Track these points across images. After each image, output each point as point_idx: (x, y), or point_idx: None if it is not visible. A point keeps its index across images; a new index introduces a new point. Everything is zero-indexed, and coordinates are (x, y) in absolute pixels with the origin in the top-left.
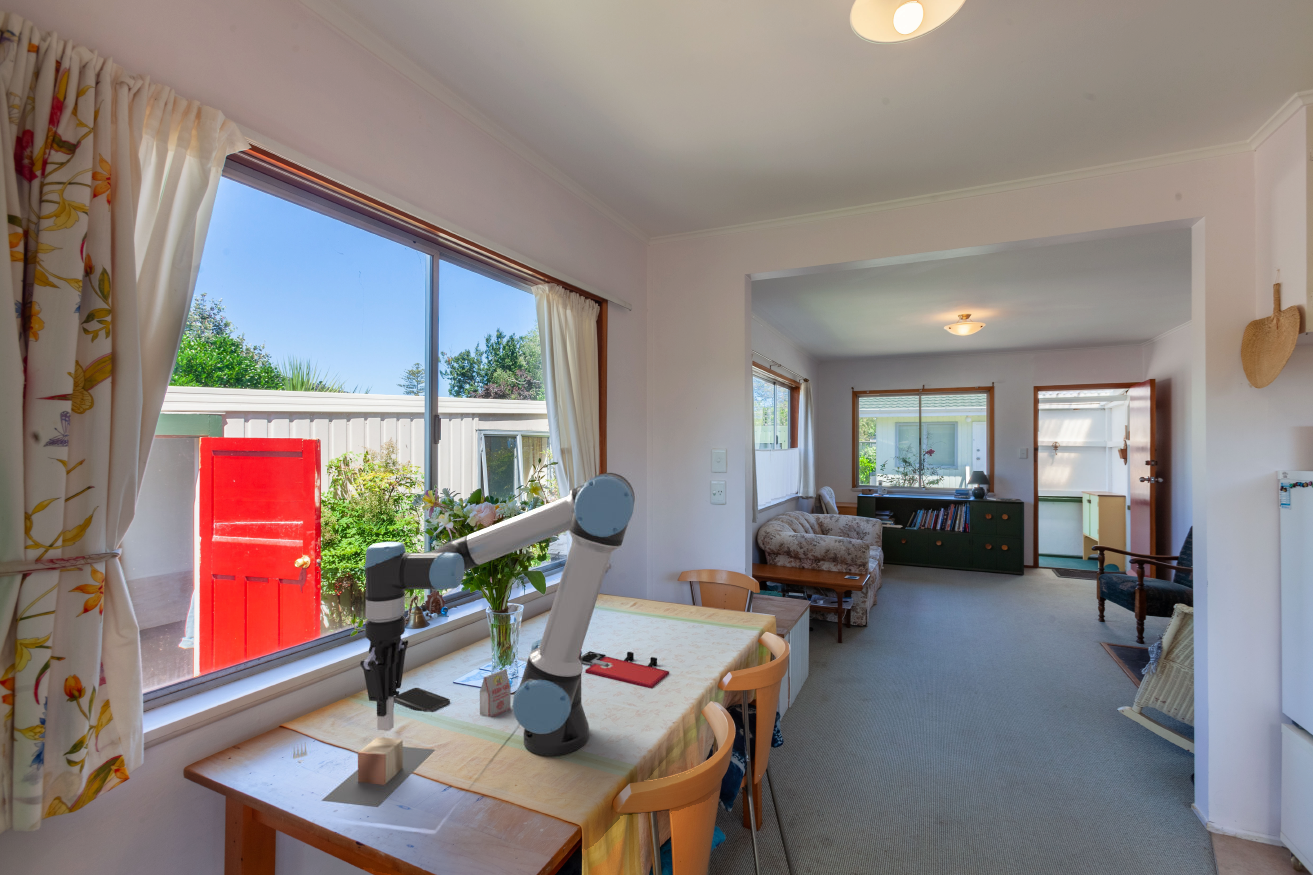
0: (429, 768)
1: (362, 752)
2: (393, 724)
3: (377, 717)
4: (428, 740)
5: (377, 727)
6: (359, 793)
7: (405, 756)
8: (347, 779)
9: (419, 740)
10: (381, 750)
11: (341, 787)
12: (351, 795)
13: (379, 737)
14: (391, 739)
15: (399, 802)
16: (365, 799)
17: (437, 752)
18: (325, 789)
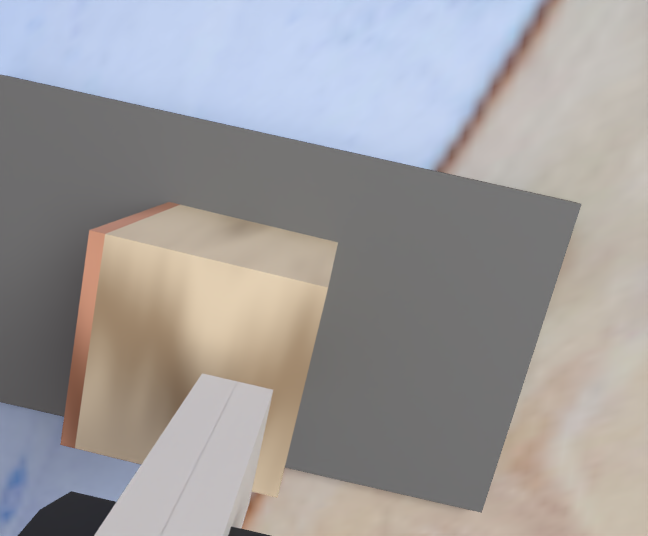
0: (317, 515)
1: (90, 268)
2: (243, 519)
3: (161, 436)
4: (622, 431)
5: (197, 381)
6: (67, 259)
7: (420, 373)
8: (190, 127)
9: (631, 378)
10: (126, 398)
11: (114, 130)
12: (45, 224)
13: (321, 308)
14: (285, 414)
15: (41, 463)
16: (20, 313)
17: (473, 514)
18: (127, 27)
